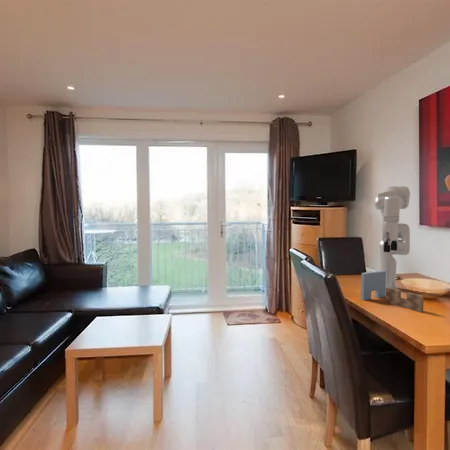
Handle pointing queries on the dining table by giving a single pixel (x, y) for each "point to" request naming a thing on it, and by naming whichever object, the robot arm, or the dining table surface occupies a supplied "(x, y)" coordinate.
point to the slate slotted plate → (373, 284)
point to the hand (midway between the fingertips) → (390, 251)
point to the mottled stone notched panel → (411, 302)
